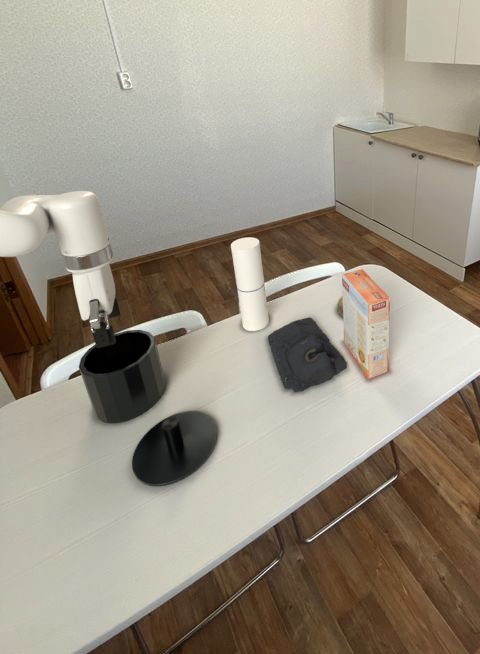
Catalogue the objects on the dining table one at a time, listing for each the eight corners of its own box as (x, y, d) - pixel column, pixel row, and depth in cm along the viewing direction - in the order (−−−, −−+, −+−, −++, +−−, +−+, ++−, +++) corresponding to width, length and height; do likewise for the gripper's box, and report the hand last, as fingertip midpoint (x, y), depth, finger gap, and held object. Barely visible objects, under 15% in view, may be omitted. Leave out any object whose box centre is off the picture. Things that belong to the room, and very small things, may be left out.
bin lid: (131, 505, 64) (121, 477, 62) (135, 433, 76) (127, 408, 74) (221, 465, 70) (216, 438, 68) (212, 404, 82) (207, 380, 80)
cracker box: (390, 372, 90) (391, 297, 83) (367, 381, 88) (366, 304, 80) (364, 335, 102) (363, 267, 95) (343, 342, 99) (340, 273, 92)
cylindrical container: (237, 329, 105) (225, 248, 96) (250, 313, 112) (240, 236, 103) (261, 333, 104) (250, 251, 95) (273, 316, 110) (264, 238, 101)
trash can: (90, 434, 76) (73, 386, 72) (99, 385, 88) (85, 341, 83) (166, 407, 82) (154, 361, 77) (165, 365, 93) (154, 323, 89)
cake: (331, 317, 110) (329, 301, 109) (346, 299, 119) (345, 283, 117) (362, 324, 106) (360, 307, 104) (376, 304, 114) (374, 288, 113)
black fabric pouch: (318, 319, 108) (317, 305, 107) (350, 373, 90) (350, 357, 88) (264, 336, 102) (262, 322, 101) (287, 398, 84) (285, 381, 82)
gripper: (73, 241, 78) (93, 312, 84) (54, 283, 63) (80, 364, 69) (115, 234, 81) (132, 302, 87) (106, 272, 67) (127, 351, 72)
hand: (109, 330), depth 78 cm, fingers open, 9 cm apart
